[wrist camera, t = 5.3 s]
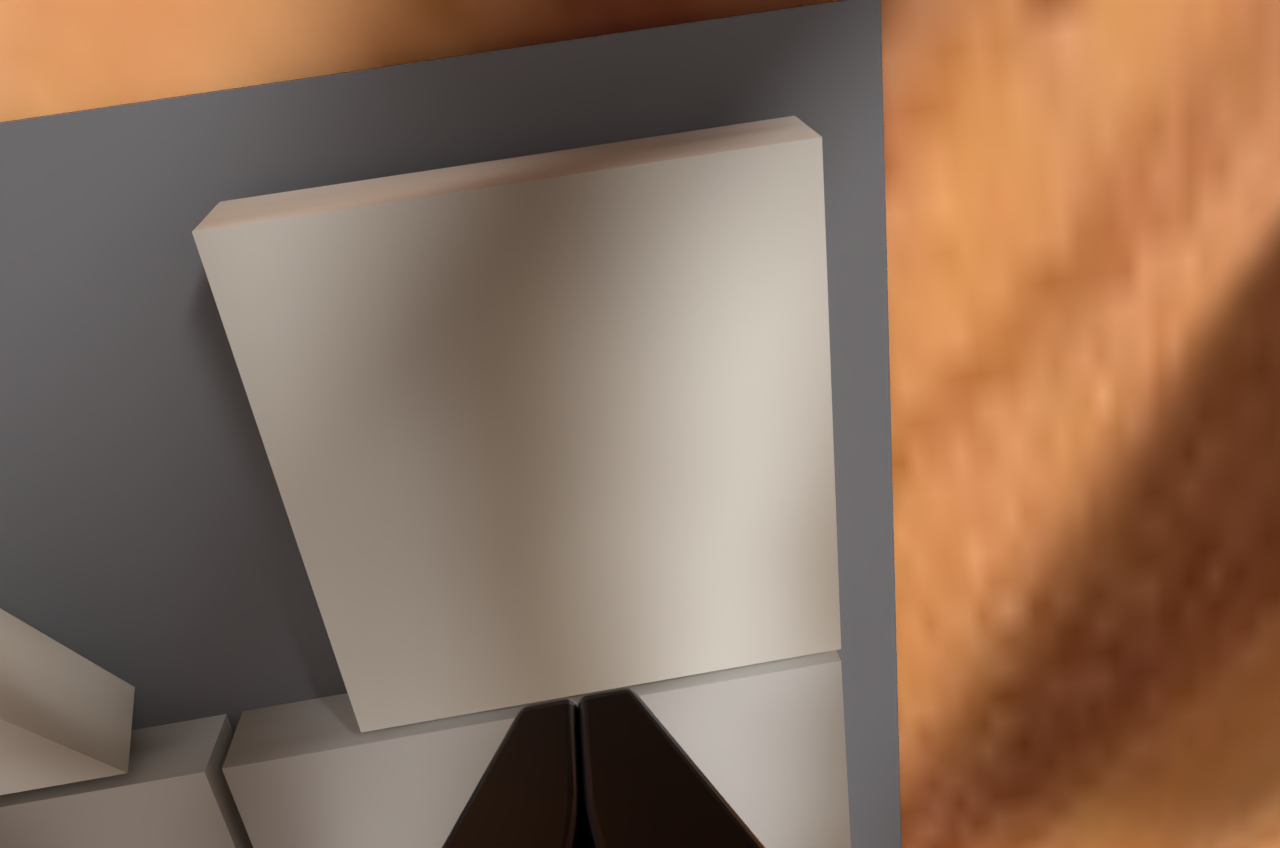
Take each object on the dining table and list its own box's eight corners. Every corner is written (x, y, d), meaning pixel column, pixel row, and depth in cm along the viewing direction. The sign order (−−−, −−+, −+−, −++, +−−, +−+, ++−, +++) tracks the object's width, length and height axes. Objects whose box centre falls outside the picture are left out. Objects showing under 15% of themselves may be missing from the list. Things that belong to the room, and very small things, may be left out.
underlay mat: (876, -5, 15) (880, -5, 15) (901, 963, 25) (904, 971, 24) (-814, 240, 14) (-831, 244, 14) (-125, 1156, 23) (-130, 1166, 23)
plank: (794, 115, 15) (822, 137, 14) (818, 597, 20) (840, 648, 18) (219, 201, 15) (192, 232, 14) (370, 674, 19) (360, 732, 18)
